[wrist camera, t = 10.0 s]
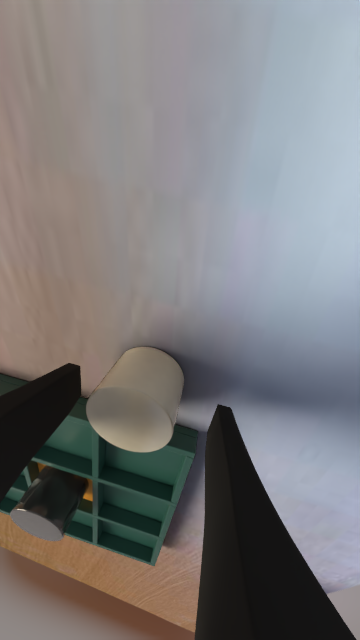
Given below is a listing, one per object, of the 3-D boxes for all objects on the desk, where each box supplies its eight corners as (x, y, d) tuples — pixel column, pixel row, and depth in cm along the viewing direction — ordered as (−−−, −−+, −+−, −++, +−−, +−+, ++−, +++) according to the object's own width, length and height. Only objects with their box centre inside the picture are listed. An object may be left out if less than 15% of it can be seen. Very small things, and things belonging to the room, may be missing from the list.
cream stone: (177, 410, 13) (165, 462, 10) (115, 392, 13) (85, 438, 10) (191, 357, 11) (181, 402, 8) (118, 337, 11) (84, 375, 8)
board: (158, 545, 21) (154, 566, 20) (0, 490, 23) (-14, 507, 21) (198, 431, 13) (195, 453, 12) (-53, 358, 15) (-80, 370, 13)
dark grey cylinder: (89, 496, 18) (64, 547, 15) (47, 482, 18) (15, 529, 15) (88, 470, 16) (60, 522, 13) (41, 455, 16) (4, 503, 14)
